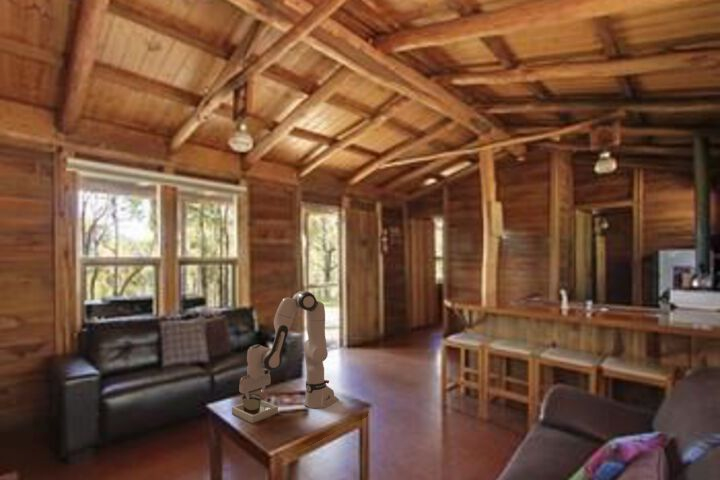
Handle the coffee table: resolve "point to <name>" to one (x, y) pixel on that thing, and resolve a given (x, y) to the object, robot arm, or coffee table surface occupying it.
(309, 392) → the robot arm
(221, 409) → the coffee table surface
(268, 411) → the tray
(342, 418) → the coffee table surface
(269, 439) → the coffee table surface
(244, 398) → the food container
